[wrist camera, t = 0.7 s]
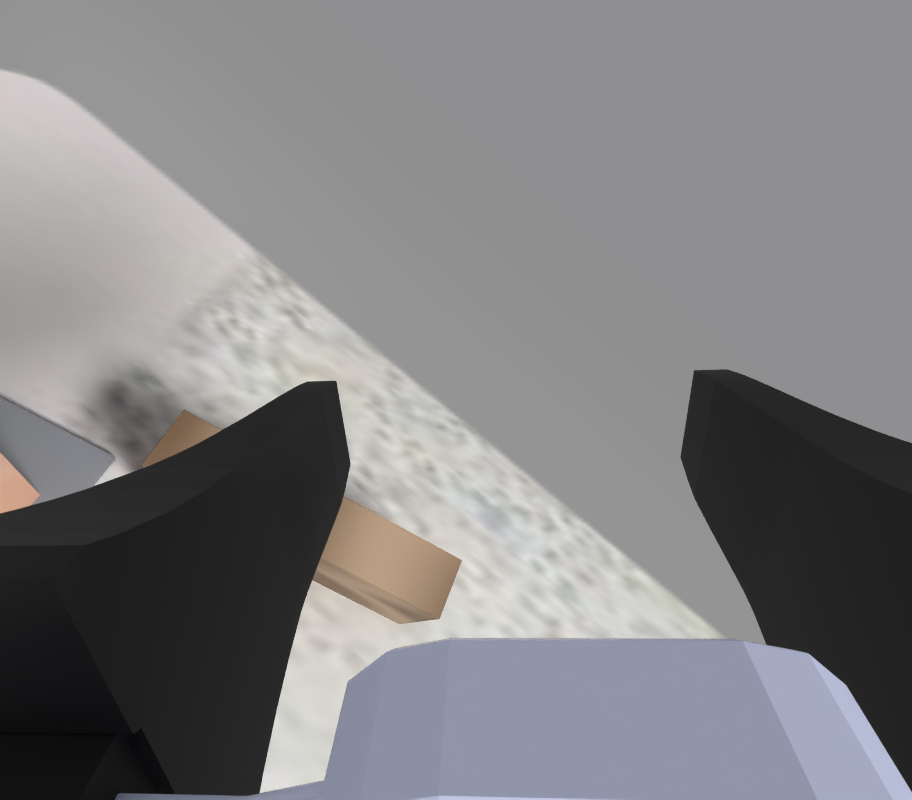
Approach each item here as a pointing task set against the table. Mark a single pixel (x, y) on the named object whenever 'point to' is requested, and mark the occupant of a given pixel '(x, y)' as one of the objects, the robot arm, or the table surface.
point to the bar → (358, 549)
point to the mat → (48, 454)
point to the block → (14, 488)
